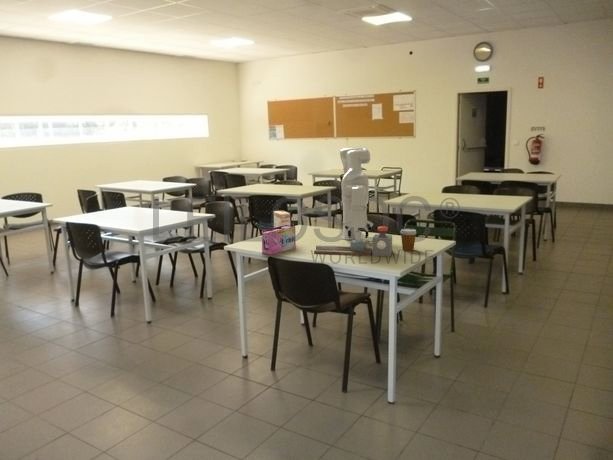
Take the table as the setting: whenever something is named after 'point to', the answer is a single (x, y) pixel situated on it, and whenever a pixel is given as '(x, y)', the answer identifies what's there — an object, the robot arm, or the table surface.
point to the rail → (341, 250)
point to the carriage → (358, 242)
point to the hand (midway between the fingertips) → (358, 237)
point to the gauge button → (382, 231)
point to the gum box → (278, 239)
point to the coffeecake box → (281, 218)
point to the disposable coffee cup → (408, 239)
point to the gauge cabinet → (382, 245)
